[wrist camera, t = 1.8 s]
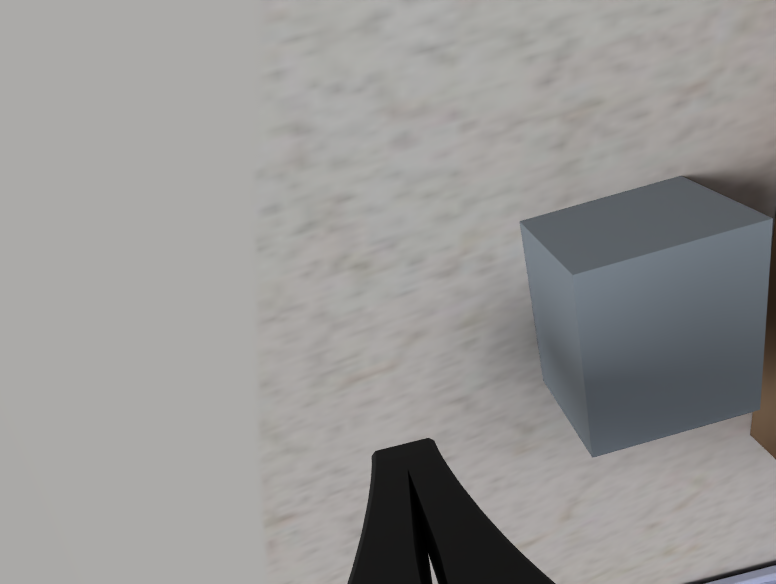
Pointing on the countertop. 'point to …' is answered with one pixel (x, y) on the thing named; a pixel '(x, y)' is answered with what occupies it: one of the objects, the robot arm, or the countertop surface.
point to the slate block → (650, 310)
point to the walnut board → (768, 370)
